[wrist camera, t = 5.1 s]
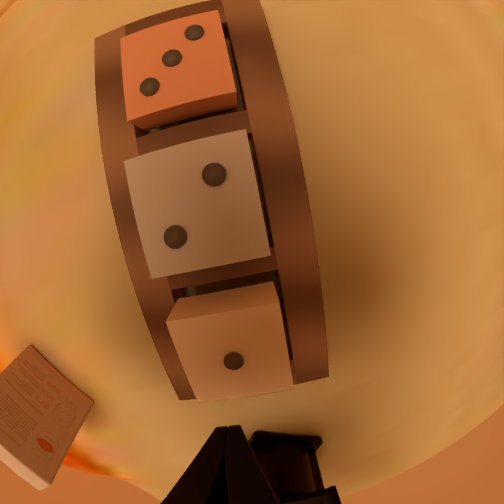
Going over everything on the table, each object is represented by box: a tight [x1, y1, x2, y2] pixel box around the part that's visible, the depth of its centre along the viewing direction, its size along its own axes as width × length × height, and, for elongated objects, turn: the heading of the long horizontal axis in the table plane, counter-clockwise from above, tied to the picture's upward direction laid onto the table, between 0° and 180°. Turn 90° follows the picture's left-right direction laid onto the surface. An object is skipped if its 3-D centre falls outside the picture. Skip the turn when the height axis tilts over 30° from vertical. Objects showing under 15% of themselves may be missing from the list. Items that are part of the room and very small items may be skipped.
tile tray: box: [95, 0, 329, 400], centre depth 14 cm, size 24×10×2 cm, turn 11°
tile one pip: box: [166, 281, 294, 402], centre depth 13 cm, size 5×5×3 cm
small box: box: [0, 345, 94, 490], centre depth 13 cm, size 8×6×10 cm
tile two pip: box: [124, 129, 271, 279], centre depth 11 cm, size 5×5×3 cm
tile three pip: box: [120, 10, 238, 131], centre depth 11 cm, size 5×5×3 cm
